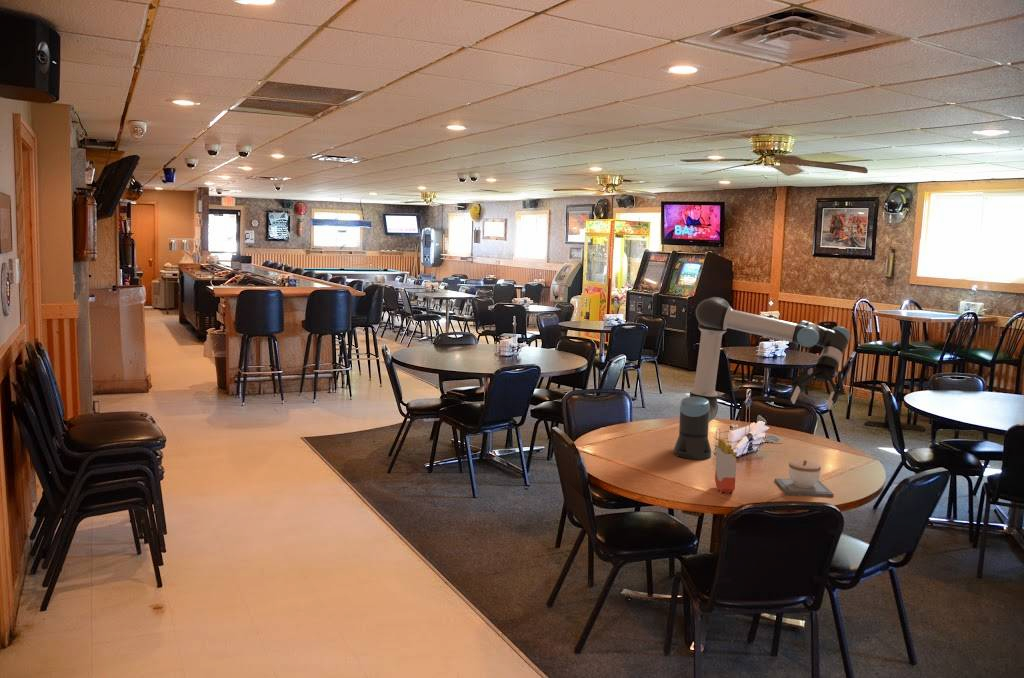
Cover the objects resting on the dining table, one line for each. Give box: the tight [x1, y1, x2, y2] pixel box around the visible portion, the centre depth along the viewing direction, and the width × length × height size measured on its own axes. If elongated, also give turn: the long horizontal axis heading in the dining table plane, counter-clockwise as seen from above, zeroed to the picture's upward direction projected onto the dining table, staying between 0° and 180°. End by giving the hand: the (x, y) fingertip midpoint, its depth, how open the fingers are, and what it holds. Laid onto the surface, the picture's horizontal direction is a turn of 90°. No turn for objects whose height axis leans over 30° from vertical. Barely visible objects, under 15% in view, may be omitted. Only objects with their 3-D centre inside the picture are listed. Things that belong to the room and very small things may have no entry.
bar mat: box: [774, 477, 834, 498], centre depth 278 cm, size 16×16×1 cm
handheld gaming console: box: [756, 414, 784, 442], centre depth 348 cm, size 13×9×10 cm
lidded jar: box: [788, 459, 822, 488], centre depth 278 cm, size 11×11×9 cm
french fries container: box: [714, 437, 738, 493], centre depth 273 cm, size 5×11×18 cm, turn 0°
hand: (810, 404), depth 291 cm, fingers open, 13 cm apart
